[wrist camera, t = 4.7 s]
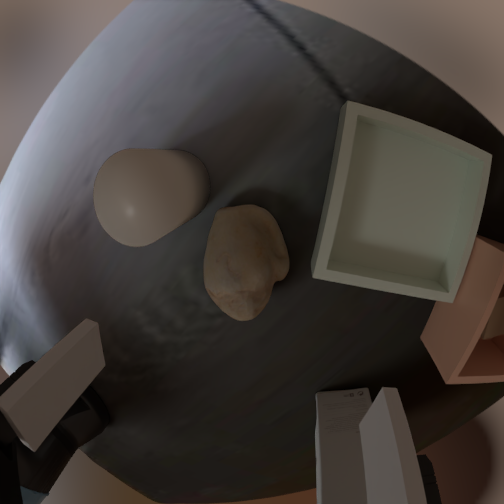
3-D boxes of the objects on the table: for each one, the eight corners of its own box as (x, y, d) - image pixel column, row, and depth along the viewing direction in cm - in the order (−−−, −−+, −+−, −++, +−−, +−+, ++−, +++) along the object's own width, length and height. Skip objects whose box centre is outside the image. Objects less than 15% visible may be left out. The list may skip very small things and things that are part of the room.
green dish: (310, 263, 23) (312, 277, 20) (340, 108, 19) (347, 100, 16) (438, 288, 22) (452, 303, 19) (472, 154, 18) (492, 155, 15)
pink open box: (420, 337, 23) (445, 384, 17) (460, 228, 20) (506, 254, 13) (490, 343, 22) (518, 380, 16) (527, 253, 19) (567, 277, 12)
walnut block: (464, 317, 22) (483, 339, 18) (472, 280, 20) (494, 299, 17) (492, 312, 21) (511, 331, 17) (500, 276, 20) (522, 293, 16)
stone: (206, 247, 27) (221, 331, 23) (183, 210, 21) (197, 315, 17) (277, 228, 26) (302, 311, 23) (272, 186, 21) (304, 288, 17)
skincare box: (315, 390, 27) (314, 519, 13) (371, 384, 26) (396, 507, 12) (315, 434, 29) (312, 539, 15) (363, 429, 28) (374, 532, 14)
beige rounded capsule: (141, 216, 24) (92, 237, 17) (147, 147, 22) (96, 146, 15) (205, 228, 23) (171, 255, 17) (215, 154, 21) (181, 152, 15)
